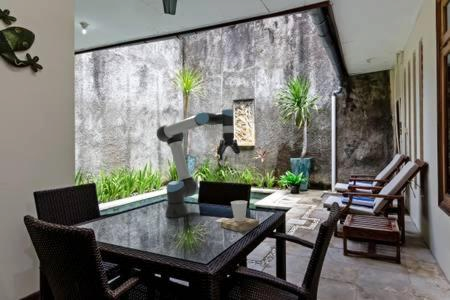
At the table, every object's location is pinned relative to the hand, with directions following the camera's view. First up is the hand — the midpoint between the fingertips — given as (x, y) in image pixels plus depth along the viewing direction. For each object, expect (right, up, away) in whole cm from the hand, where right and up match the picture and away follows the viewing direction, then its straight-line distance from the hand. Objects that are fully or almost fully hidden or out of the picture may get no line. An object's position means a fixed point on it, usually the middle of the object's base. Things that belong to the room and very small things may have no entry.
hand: (229, 164), depth 201 cm
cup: (+6, -32, -26) cm, 42 cm away
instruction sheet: (-2, -35, -12) cm, 37 cm away
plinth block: (+6, -35, -26) cm, 44 cm away
